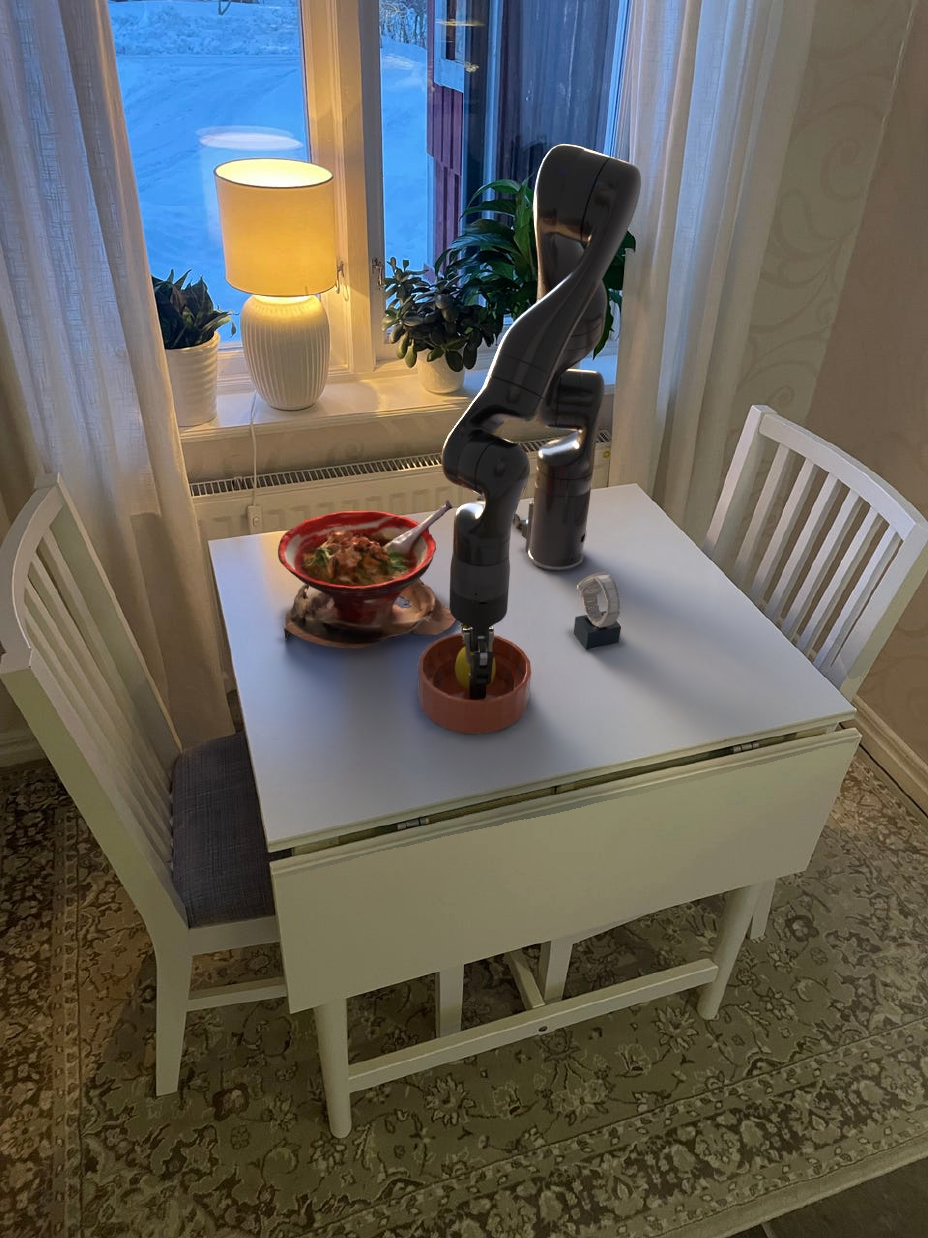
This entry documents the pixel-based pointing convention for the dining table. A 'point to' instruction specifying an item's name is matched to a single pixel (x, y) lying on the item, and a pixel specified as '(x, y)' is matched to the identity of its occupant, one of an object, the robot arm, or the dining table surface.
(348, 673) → the dining table surface
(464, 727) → the bowl
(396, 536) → the stew
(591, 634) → the watch
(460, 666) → the lemon
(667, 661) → the dining table surface
